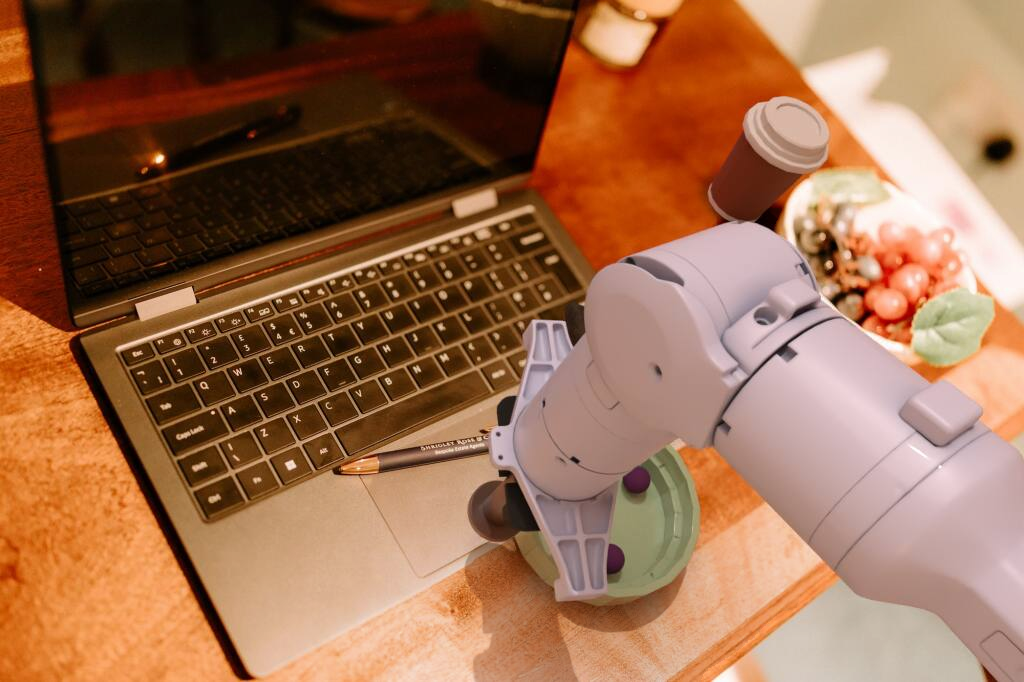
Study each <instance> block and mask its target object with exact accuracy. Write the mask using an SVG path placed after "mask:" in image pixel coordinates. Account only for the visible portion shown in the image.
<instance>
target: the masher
mask: <svg viewBox="0 0 1024 682" xmlns="http://www.w3.org/2000/svg"><path fill="white" fill-rule="evenodd" d="M506 483H518V481H517V479H516V477H515V475H514V474H513V473H512V472H511V473H510V474H509V475H508V476H507V477H505V478H504V479H503V480H498V479H497V480H490V481H489V480H488V481H486V482H484V483H482V484H481V485H479V486H478V487H477V488H476V489H475V490H474V492H473V493H472V494H471V495H470V497H469V500H468V503H467V512H466V513H467V518H468V522H469V524H470V527H471V529H473V531H474V532H475V533H476V534H477V535H478V536H479V537H481V538H482V539H484V540H486V541H488V542H494V543H503V542H508V541H509V540H512V539H513V538H515V537H514V536H515V535H517V534H518V533H519V532H520V531H517V530H513V529H511V528H510V524H509V523H505V522H504V521H503V512H502V508H503V506H504V505H505V504H506V498H505V488H504V485H505V484H506Z"/></svg>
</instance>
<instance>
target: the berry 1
mask: <svg viewBox="0 0 1024 682" xmlns="http://www.w3.org/2000/svg"><path fill="white" fill-rule="evenodd" d="M624 563H625V556H624V553H623V551H622V550H621V548H620V547H618V546H617V545H615V544H609V547H608V555H607V574H616V573H618V572H619V571H620V570H621V569H622V568H623V566H624Z"/></svg>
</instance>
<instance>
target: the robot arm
mask: <svg viewBox="0 0 1024 682" xmlns="http://www.w3.org/2000/svg"><path fill="white" fill-rule="evenodd" d="M583 306H584V323H585V331H586V332H585V334H584V335H583V336H582V337H581V339H580V340H579V341H578V342H577V344H576V345H575V346H574V347H573V345H572V343H571V341H570V338H569V335H568V331H567V326H566V322H565V321H562V320H552V319H532V320H531V321H530V322H529V324H528V326H527V327H526V329H525V330H524V332H523V333H522V335H521V336H522V343H523V344H522V345H523V349H524V350H525V351H526V352H527V355H526V359H525V363H524V367H523V371H522V375H521V378H520V382H519V386H518V390H517V394H516V395H508V396H505V397H504V398H501V400H500V401H499V403H498V404H497V406H496V419H497V426H495V427H493V428H492V430H491V431H489V433H488V436H487V446H488V456H489V457H488V458H489V462H490V465H491V467H493V468H494V469H495V470H497V472H498V478H507V476H508V475H509V474H510V473H511V472H512V473H513V474H514V475H515V477H516V479H517V481H518V483H506V484H505V485H504V488H505V498H506V504H505V505H504V506H503V508H502V512H503V521H504V522H505V523H509V524H510V528H511V529H513V530H517V531H522V532H533V531H541V532H542V534H543V537H544V539H545V541H546V543H547V545H548V547H549V549H550V551H551V553H552V556H553V558H554V560H555V563H556V565H557V568H558V571H559V574H560V577H559V578H557V579H556V580H555V581H554V588H553V589H554V597H555V602H558V603H559V602H560V603H561V602H572V601H573V602H574V601H577V600H586V599H594V598H596V597H599V596H602V595H604V594H607V593H608V583H607V555H608V547H609V541H610V535H611V529H612V522H613V516H614V510H615V504H616V498H617V491H618V485H619V479H620V478H622V477H623V476H625V475H626V474H628V473H629V472H630V471H632V470H633V469H635V468H636V467H638V466H639V465H641V464H642V463H643V462H645V461H646V460H648V459H649V458H650V457H652V456H653V455H655V454H656V453H658V452H659V451H660V450H662V449H663V448H665V447H666V446H668V445H669V444H671V445H672V443H674V442H675V441H676V440H678V439H680V440H681V441H682V442H683V443H684V444H685V445H686V446H687V447H688V448H692V447H694V448H695V449H696V450H697V451H702V450H705V449H706V448H713V449H714V450H715V451H716V452H717V453H718V454H719V455H720V456H721V457H722V459H724V460H725V462H726V463H728V465H729V466H730V467H731V468H732V469H733V470H734V471H735V472H736V473H737V474H738V475H739V476H740V477H741V478H742V479H743V480H744V481H745V482H746V483H747V484H748V485H749V486H750V487H751V488H752V489H753V490H754V492H756V493H757V494H758V495H759V497H760V498H761V499H762V500H764V502H765V503H766V504H767V505H768V506H769V507H771V509H772V510H773V511H774V512H775V513H776V514H777V515H778V517H780V518H781V519H782V520H783V521H784V522H785V523H786V524H787V526H789V528H790V529H791V530H792V531H793V532H795V534H796V535H797V536H798V537H799V538H800V539H801V540H802V541H803V542H804V543H805V544H806V545H807V546H808V547H809V548H810V549H811V550H812V551H813V552H814V553H815V555H817V557H819V559H821V560H822V562H823V563H824V564H826V565H827V567H828V568H829V569H830V570H832V572H833V573H834V574H835V575H836V576H837V577H838V578H839V579H840V580H841V581H842V582H843V583H844V584H845V586H847V587H848V588H849V589H850V590H851V592H853V593H854V594H855V595H856V596H859V598H860V597H861V598H863V599H866V600H870V601H874V602H875V601H876V602H881V603H886V604H893V605H897V606H898V605H899V606H904V607H905V606H906V607H911V608H916V609H920V610H924V611H927V612H930V613H932V614H934V615H935V616H938V618H940V620H941V621H942V622H943V623H944V624H945V625H946V626H947V627H948V629H949V630H950V631H951V632H952V633H953V634H954V635H955V636H956V637H957V638H958V639H959V641H960V642H961V643H962V644H963V645H964V646H965V647H966V648H967V649H968V650H969V652H970V653H971V654H972V655H973V656H974V657H975V658H976V660H977V661H979V663H981V665H982V666H983V667H984V668H985V669H986V670H987V671H988V673H989V674H990V675H991V676H992V677H993V678H994V679H995V680H996V681H997V682H1024V457H1023V454H1022V453H1021V451H1020V450H1019V449H1017V448H1016V447H1015V446H1014V445H1013V444H1011V443H1010V442H1008V441H1007V440H1006V439H1004V438H1003V437H1002V436H1000V435H999V434H998V433H997V432H996V431H993V429H992V428H990V427H989V426H987V425H986V424H985V423H984V422H982V421H981V420H980V419H981V417H982V416H983V415H984V408H983V407H982V406H981V404H979V403H978V402H977V401H975V400H974V399H973V398H971V397H970V396H968V395H967V394H965V392H963V391H962V390H961V389H959V388H958V387H956V386H955V385H953V383H951V382H950V381H949V380H946V379H938V380H936V381H935V382H933V383H931V382H930V381H929V380H928V379H926V378H925V377H924V376H923V375H921V374H919V373H918V372H917V371H916V370H915V369H913V368H911V367H910V366H909V365H908V364H906V363H905V362H904V361H902V360H901V359H900V358H899V357H897V356H896V355H895V354H893V353H892V352H891V351H889V349H887V348H886V347H884V346H883V345H881V344H880V343H879V342H878V341H877V340H875V339H873V338H872V337H871V336H869V335H868V334H867V333H866V332H865V331H863V330H862V329H860V328H859V327H858V326H857V325H855V324H854V323H853V322H851V321H850V320H849V319H847V318H846V317H845V316H844V315H842V314H840V312H838V311H837V310H836V309H834V308H832V306H830V305H829V304H828V303H827V302H825V301H824V300H823V299H822V295H821V293H820V288H819V285H818V281H817V279H816V276H815V273H814V271H813V269H812V267H811V265H810V263H809V262H808V260H807V259H806V258H805V257H804V255H803V253H802V252H801V251H800V250H799V249H798V248H797V247H796V246H795V245H794V244H793V243H792V242H790V241H789V240H788V239H786V238H785V237H784V236H782V235H780V234H778V233H776V232H774V231H773V230H771V229H770V228H768V227H766V226H764V225H761V224H759V223H756V222H754V223H752V222H748V221H747V222H744V223H741V224H739V223H738V221H733V222H731V221H728V222H724V223H721V224H718V225H715V226H713V227H712V226H711V227H710V228H709V227H708V228H707V229H704V230H700V231H698V232H695V233H692V234H690V235H686V236H683V237H680V238H677V239H673V240H672V241H668V242H666V243H661V244H659V245H656V246H654V247H650V248H648V249H645V250H642V251H639V252H636V253H632V254H631V255H627V256H624V257H622V258H620V259H619V260H617V261H616V262H615V263H611V264H608V265H606V266H605V267H603V268H602V269H599V271H598V272H596V274H595V275H594V276H593V278H592V280H591V281H590V283H589V285H588V288H587V290H586V295H585V299H584V305H583Z"/></svg>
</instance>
